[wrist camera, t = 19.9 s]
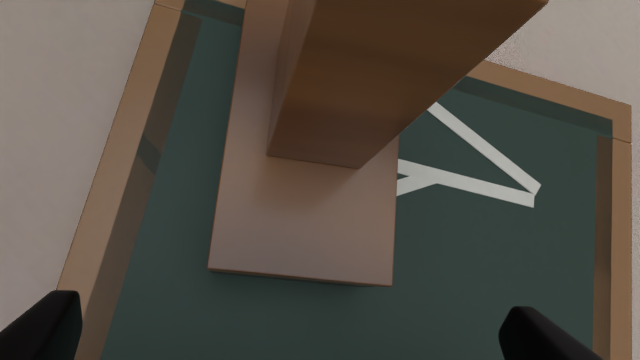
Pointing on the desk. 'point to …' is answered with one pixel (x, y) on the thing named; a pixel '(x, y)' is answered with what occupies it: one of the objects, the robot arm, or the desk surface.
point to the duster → (336, 127)
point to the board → (410, 222)
